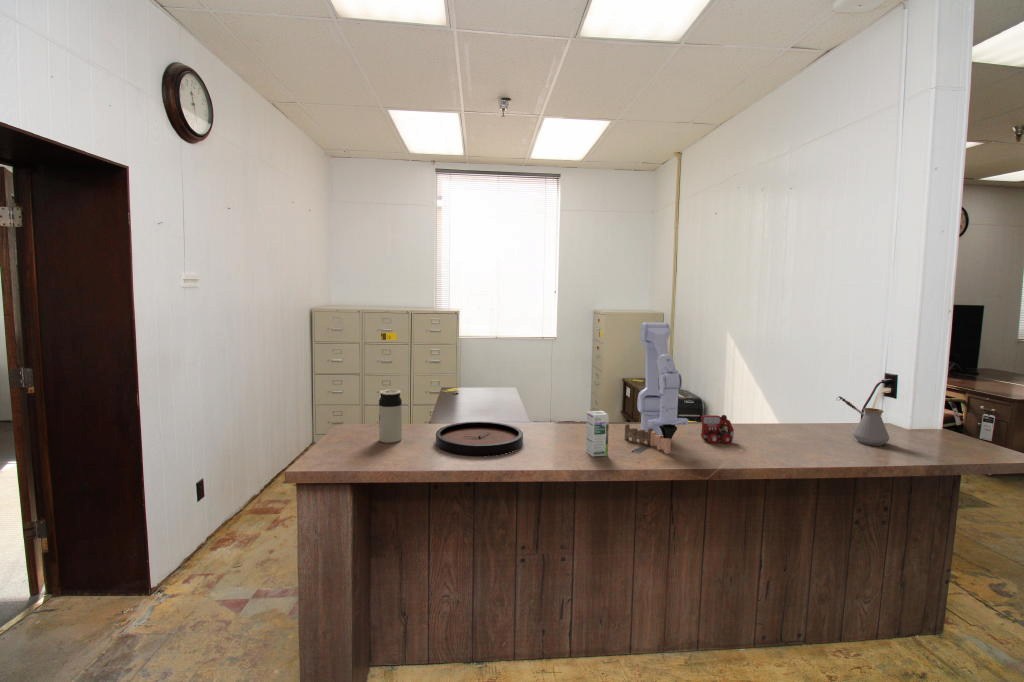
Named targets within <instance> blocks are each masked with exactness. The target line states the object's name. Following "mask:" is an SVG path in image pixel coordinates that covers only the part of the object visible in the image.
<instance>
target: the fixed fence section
mask: <svg viewBox="0 0 1024 682" xmlns="http://www.w3.org/2000/svg"><path fill="white" fill-rule="evenodd" d="M652 431H653V429H652V428H648V432H647V431H645V430H643V429H641V428H640V429H638V428H637V427H633V428H631V427H630V424H629V423H625V424H624V441H629V440H630V438H631V442H632V443H637V442H638V444H642V445H643V444H645V441H646V446H647V445H650V439H651V432H652ZM638 440H639V441H638ZM650 446H651V445H650Z"/></svg>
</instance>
